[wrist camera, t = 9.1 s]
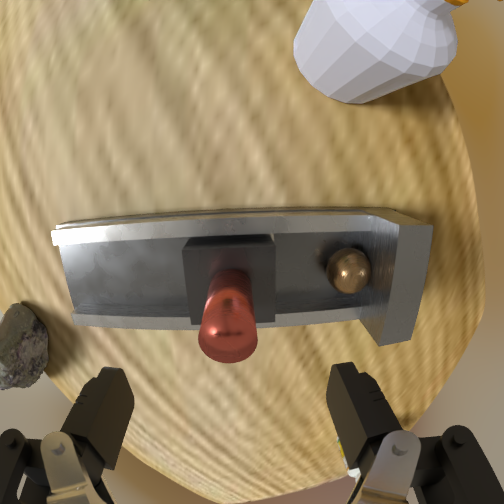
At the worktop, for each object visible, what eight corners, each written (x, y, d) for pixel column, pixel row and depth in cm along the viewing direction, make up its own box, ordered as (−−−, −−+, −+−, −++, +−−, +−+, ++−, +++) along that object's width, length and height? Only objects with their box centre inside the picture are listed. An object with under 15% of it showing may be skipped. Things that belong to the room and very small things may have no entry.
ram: (190, 236, 21) (156, 289, 12) (269, 233, 21) (293, 284, 12) (197, 302, 22) (176, 381, 13) (270, 300, 22) (288, 379, 13)
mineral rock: (30, 377, 27) (0, 418, 18) (-9, 318, 24) (-48, 352, 15) (76, 366, 26) (41, 421, 17) (28, 292, 23) (-24, 335, 14)
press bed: (64, 222, 21) (14, 243, 14) (387, 207, 22) (438, 225, 15) (82, 308, 24) (46, 348, 17) (377, 298, 25) (415, 338, 18)
